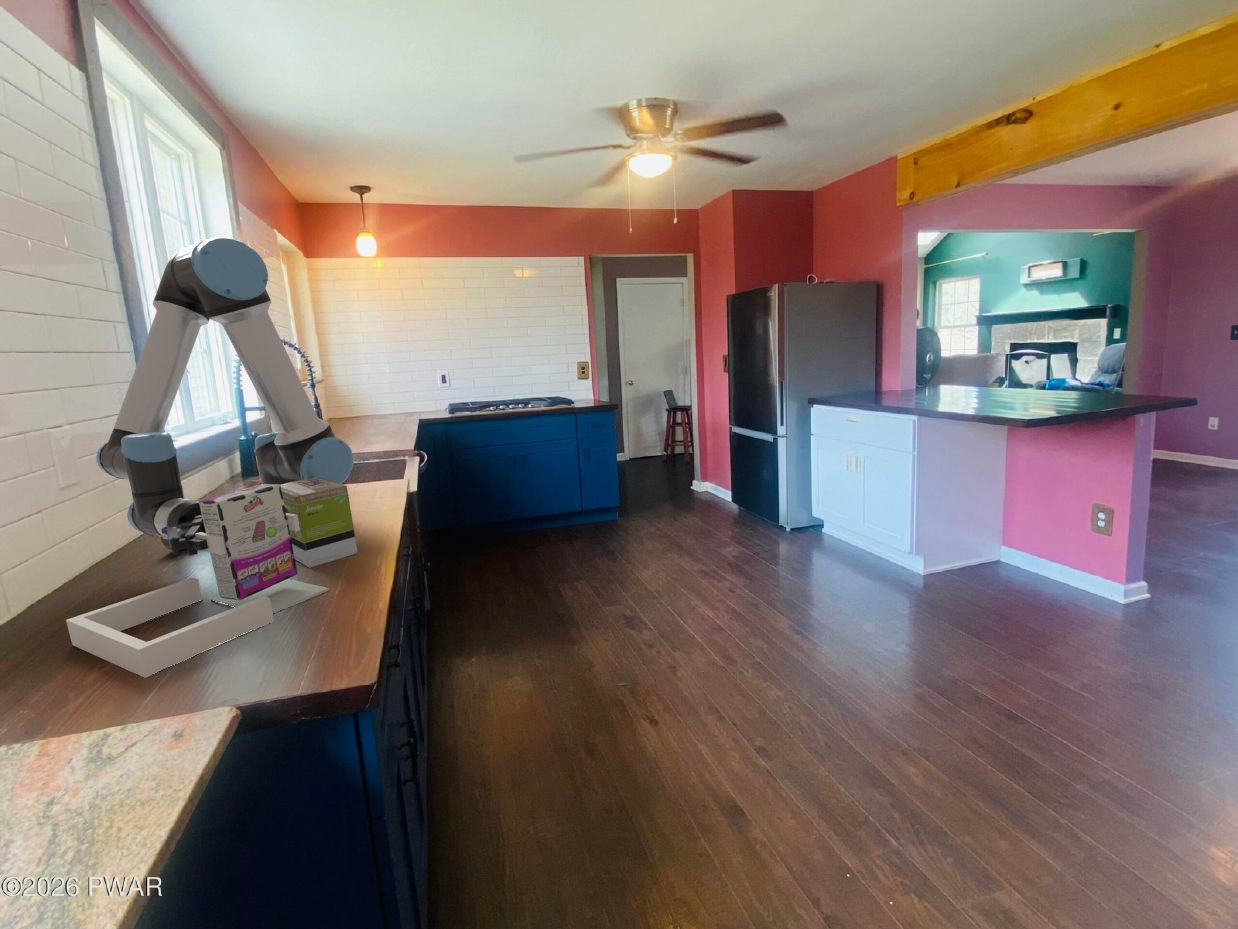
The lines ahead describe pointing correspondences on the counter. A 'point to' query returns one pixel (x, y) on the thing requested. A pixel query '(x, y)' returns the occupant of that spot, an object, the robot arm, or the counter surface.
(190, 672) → the counter surface
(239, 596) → the candy bar box
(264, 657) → the counter surface
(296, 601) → the sage mat
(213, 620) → the white piece
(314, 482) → the tea box
